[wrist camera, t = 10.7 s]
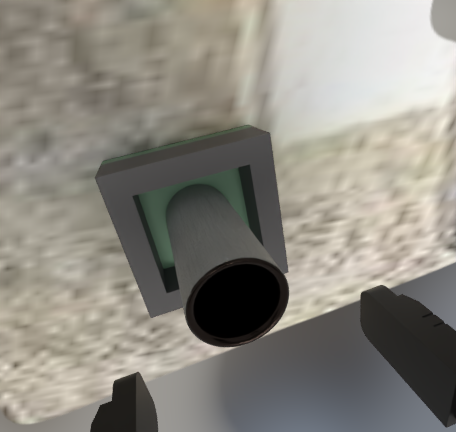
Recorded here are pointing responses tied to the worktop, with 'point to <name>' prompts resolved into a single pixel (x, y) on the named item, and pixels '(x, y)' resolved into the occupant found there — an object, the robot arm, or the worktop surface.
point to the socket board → (178, 179)
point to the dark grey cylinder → (222, 270)
